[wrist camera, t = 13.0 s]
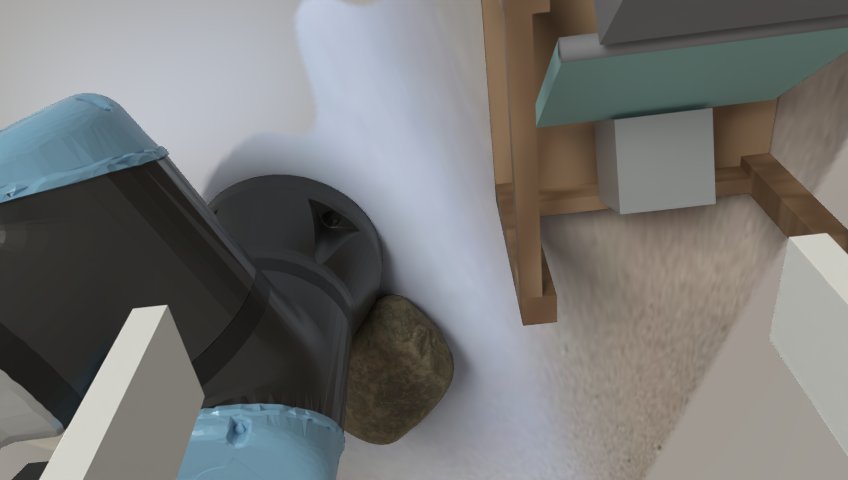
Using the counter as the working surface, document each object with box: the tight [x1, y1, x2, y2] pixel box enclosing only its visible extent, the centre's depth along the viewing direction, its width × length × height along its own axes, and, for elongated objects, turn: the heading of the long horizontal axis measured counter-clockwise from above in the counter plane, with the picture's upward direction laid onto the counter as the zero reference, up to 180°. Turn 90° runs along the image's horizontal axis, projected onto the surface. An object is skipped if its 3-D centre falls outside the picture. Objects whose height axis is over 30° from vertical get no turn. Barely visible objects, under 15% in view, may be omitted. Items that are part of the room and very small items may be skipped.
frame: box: [481, 0, 848, 326], centre depth 41 cm, size 20×20×15 cm
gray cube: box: [594, 108, 716, 215], centre depth 46 cm, size 6×6×6 cm
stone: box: [344, 295, 454, 445], centre depth 59 cm, size 9×14×10 cm, turn 155°
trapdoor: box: [536, 0, 848, 128], centre depth 35 cm, size 15×18×4 cm
